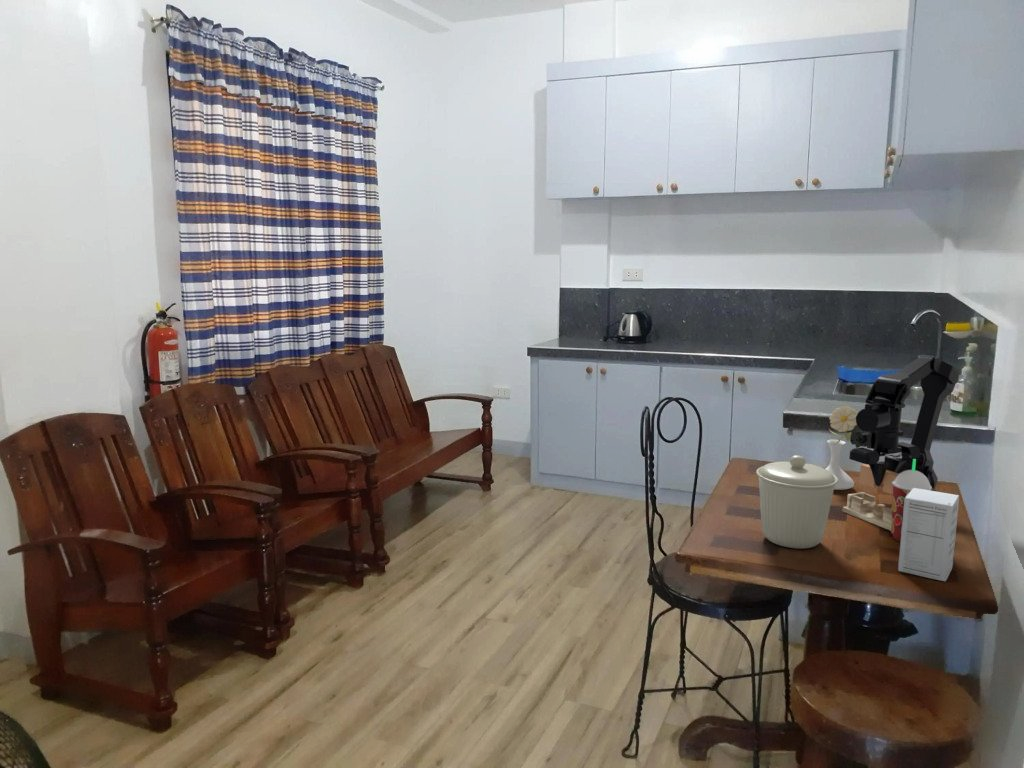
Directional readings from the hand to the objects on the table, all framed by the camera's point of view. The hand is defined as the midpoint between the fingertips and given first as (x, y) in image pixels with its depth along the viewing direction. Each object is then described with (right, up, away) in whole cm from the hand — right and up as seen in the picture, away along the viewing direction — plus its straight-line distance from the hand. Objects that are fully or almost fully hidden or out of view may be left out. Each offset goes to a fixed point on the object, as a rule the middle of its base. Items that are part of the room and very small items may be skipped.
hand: (881, 485), depth 194 cm
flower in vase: (0, -5, +27) cm, 28 cm away
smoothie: (0, -12, -12) cm, 17 cm away
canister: (-28, -12, -14) cm, 34 cm away
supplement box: (-5, -15, -29) cm, 33 cm away
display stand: (0, -9, +2) cm, 9 cm away
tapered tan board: (0, -1, 0) cm, 1 cm away
